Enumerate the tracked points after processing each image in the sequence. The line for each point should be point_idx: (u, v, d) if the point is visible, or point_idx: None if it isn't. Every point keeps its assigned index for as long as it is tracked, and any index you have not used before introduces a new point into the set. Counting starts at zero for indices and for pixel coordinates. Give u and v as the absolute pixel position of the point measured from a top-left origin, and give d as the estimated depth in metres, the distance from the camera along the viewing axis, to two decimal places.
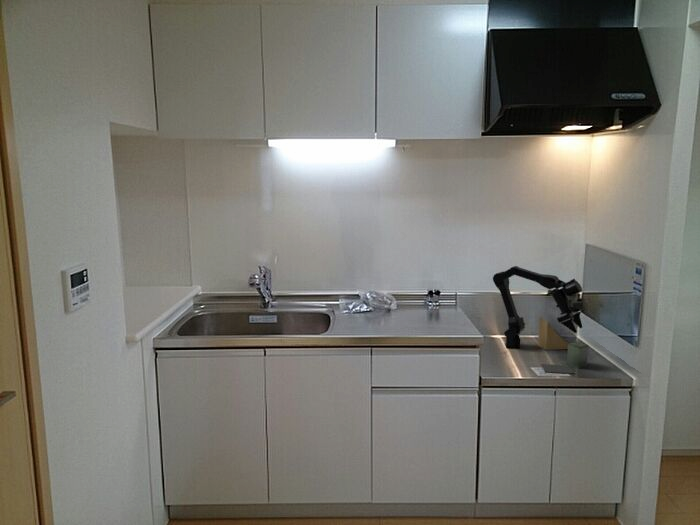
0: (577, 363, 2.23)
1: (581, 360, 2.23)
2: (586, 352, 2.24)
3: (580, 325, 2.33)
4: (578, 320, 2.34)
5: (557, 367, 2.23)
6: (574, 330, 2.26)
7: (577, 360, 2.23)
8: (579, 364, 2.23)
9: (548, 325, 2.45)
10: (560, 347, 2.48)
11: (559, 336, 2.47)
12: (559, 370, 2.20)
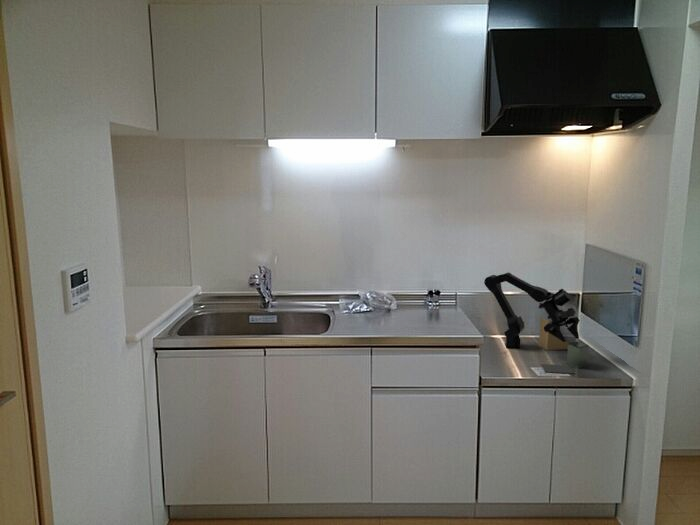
0: (577, 363, 2.23)
1: (581, 360, 2.23)
2: (586, 352, 2.24)
3: (576, 336, 2.31)
4: (574, 331, 2.32)
5: (557, 367, 2.23)
6: (562, 339, 2.27)
7: (577, 360, 2.23)
8: (579, 364, 2.23)
9: None
10: (561, 347, 2.48)
11: None
12: (559, 370, 2.20)
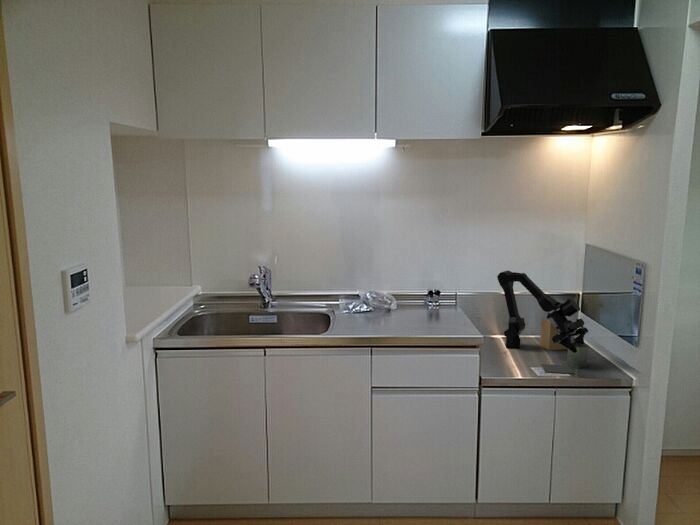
0: (577, 363, 2.23)
1: (581, 360, 2.23)
2: (586, 352, 2.24)
3: None
4: (581, 342, 2.28)
5: (557, 367, 2.23)
6: (573, 350, 2.23)
7: (577, 360, 2.23)
8: (579, 364, 2.23)
9: (551, 325, 2.44)
10: (563, 347, 2.47)
11: None
12: (559, 370, 2.20)
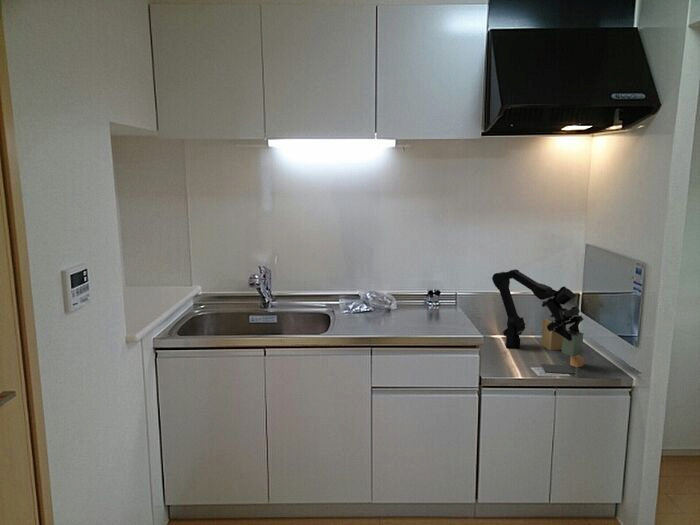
0: (572, 351, 2.21)
1: (576, 348, 2.21)
2: (581, 340, 2.22)
3: None
4: (576, 330, 2.25)
5: (557, 367, 2.23)
6: (568, 338, 2.21)
7: (572, 348, 2.20)
8: (574, 353, 2.21)
9: None
10: None
11: None
12: (559, 370, 2.20)
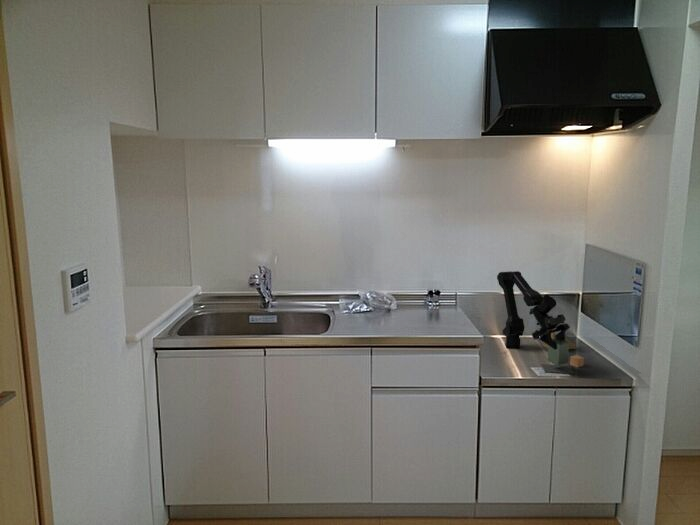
0: (557, 360, 2.18)
1: (561, 357, 2.18)
2: (567, 349, 2.19)
3: None
4: None
5: (557, 367, 2.23)
6: (553, 346, 2.18)
7: (557, 357, 2.17)
8: (559, 361, 2.18)
9: None
10: None
11: None
12: (559, 370, 2.20)
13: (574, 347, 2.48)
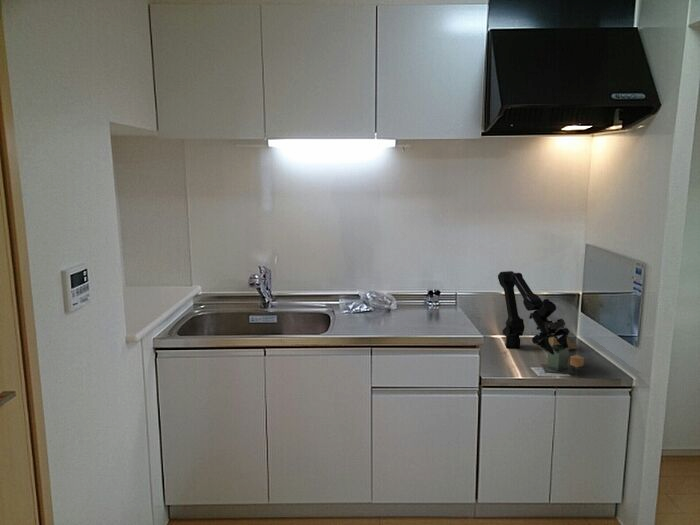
0: (557, 366, 2.18)
1: (561, 363, 2.18)
2: (566, 355, 2.19)
3: None
4: (564, 342, 2.23)
5: None
6: (551, 351, 2.18)
7: (557, 363, 2.18)
8: (559, 368, 2.18)
9: None
10: None
11: None
12: None
13: (575, 347, 2.48)
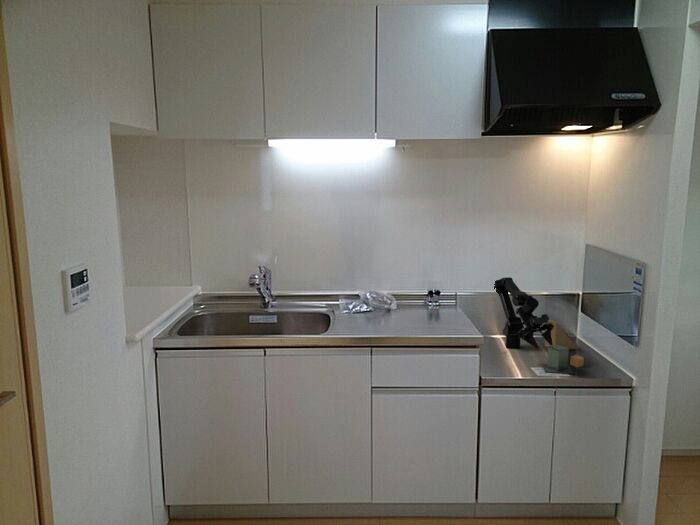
0: (557, 366, 2.18)
1: (561, 363, 2.18)
2: (566, 355, 2.19)
3: (550, 342, 2.30)
4: (548, 337, 2.31)
5: None
6: (535, 345, 2.25)
7: (557, 363, 2.18)
8: (559, 368, 2.18)
9: (557, 326, 2.43)
10: (568, 347, 2.47)
11: (567, 336, 2.46)
12: None
13: (576, 347, 2.49)
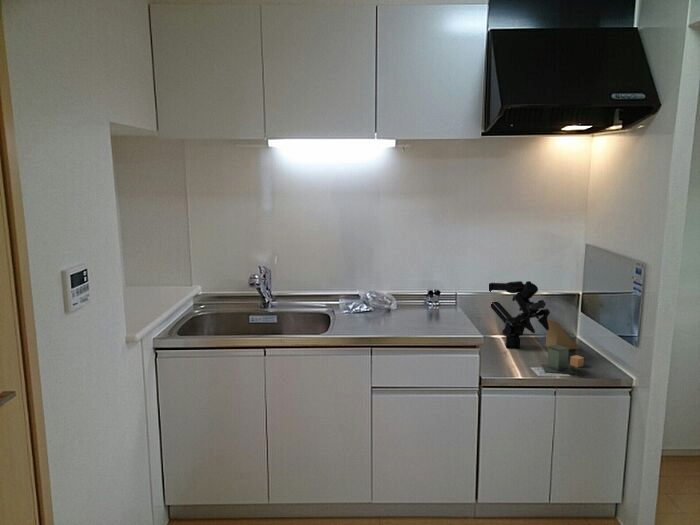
0: (557, 366, 2.18)
1: (561, 363, 2.18)
2: (566, 355, 2.19)
3: (546, 327, 2.36)
4: (544, 322, 2.37)
5: None
6: (532, 330, 2.31)
7: (557, 363, 2.18)
8: (559, 368, 2.18)
9: (559, 326, 2.43)
10: (569, 347, 2.47)
11: (568, 336, 2.46)
12: None
13: (577, 347, 2.49)
